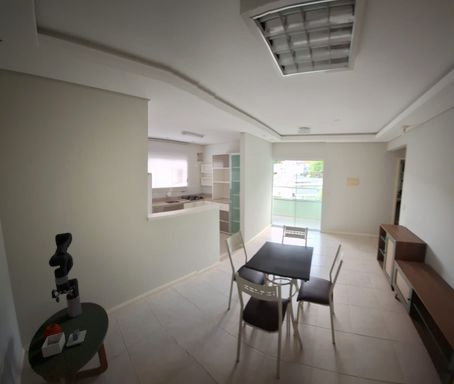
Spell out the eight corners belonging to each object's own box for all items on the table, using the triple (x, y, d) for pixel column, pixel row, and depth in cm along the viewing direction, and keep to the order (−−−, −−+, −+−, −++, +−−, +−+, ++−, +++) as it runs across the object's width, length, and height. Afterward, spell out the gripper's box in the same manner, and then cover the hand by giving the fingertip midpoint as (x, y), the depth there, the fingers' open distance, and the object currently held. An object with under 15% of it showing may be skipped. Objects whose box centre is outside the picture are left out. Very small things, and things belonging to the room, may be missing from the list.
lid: (70, 336, 163) (69, 328, 162) (86, 332, 167) (85, 324, 166) (66, 348, 154) (65, 339, 152) (83, 343, 158) (82, 334, 156)
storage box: (49, 345, 156) (47, 336, 154) (65, 341, 159) (63, 332, 158) (43, 357, 146) (41, 348, 145) (60, 352, 150) (59, 343, 149)
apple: (43, 337, 162) (40, 326, 161) (60, 329, 170) (58, 317, 169) (45, 346, 155) (43, 333, 154) (63, 336, 163) (61, 325, 161)
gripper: (75, 276, 160) (77, 294, 164) (52, 280, 155) (55, 299, 158) (72, 281, 154) (75, 301, 157) (48, 286, 148) (51, 306, 151)
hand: (65, 300), depth 158 cm, fingers open, 8 cm apart
